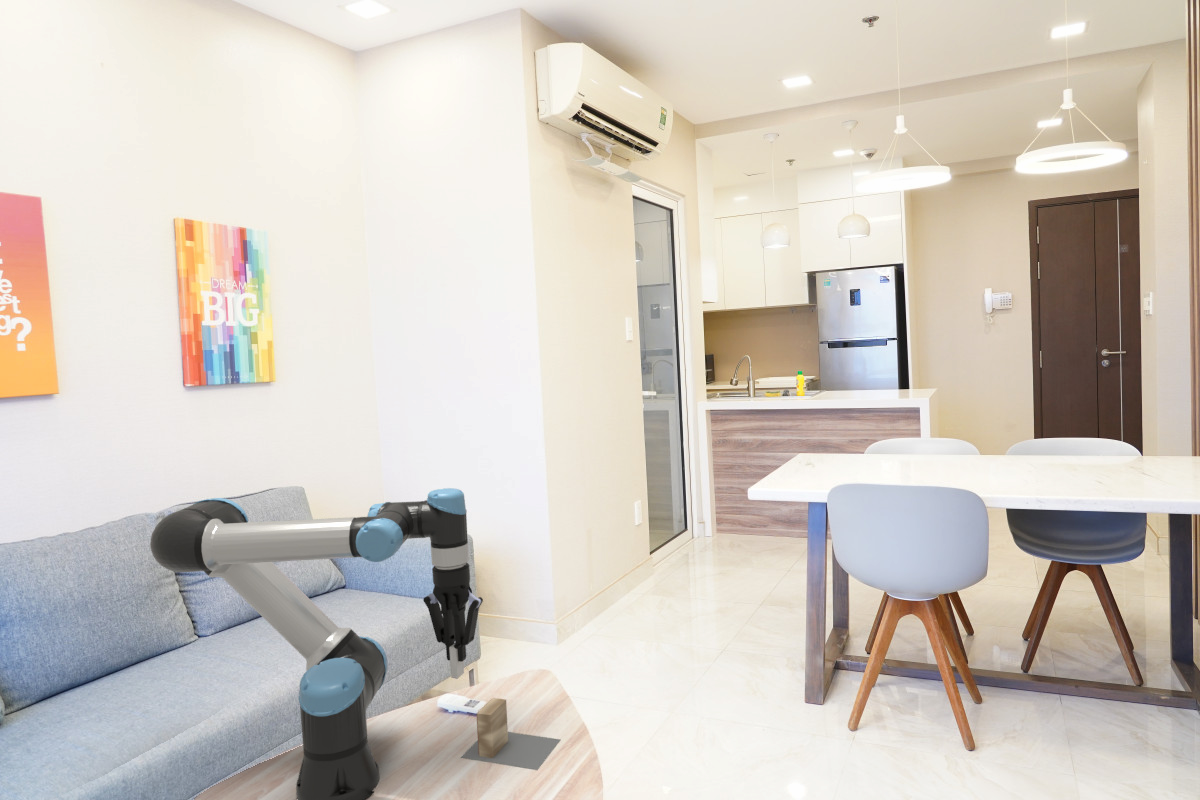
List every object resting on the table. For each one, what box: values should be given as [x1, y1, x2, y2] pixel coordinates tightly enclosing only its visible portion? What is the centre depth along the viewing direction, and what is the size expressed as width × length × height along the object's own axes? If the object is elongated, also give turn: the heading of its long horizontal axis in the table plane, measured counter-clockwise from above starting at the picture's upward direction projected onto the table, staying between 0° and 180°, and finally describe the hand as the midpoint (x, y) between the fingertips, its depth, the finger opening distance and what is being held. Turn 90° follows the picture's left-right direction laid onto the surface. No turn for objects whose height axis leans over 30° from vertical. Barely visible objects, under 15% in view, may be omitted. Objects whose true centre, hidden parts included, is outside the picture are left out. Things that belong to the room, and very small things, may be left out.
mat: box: [460, 731, 561, 771], centre depth 159 cm, size 17×12×1 cm
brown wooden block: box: [475, 697, 509, 758], centre depth 159 cm, size 3×7×9 cm, turn 161°
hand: (457, 675), depth 161 cm, fingers closed
